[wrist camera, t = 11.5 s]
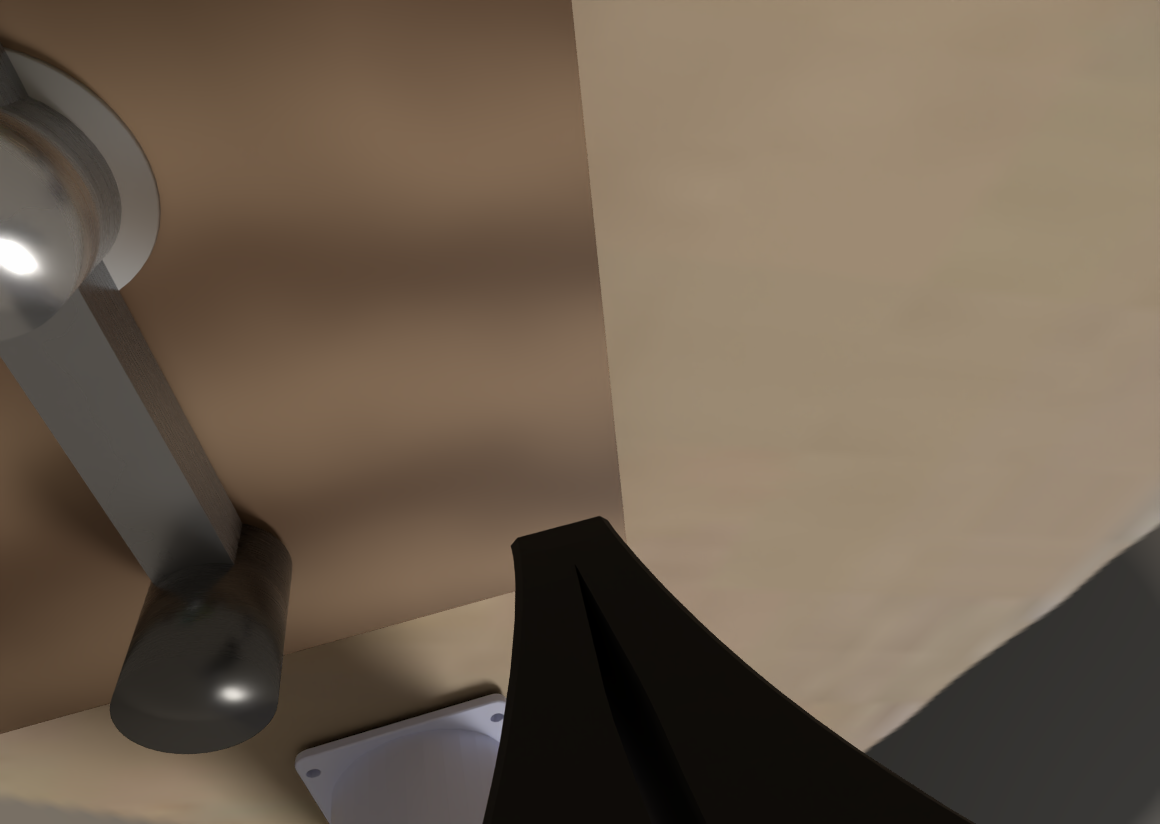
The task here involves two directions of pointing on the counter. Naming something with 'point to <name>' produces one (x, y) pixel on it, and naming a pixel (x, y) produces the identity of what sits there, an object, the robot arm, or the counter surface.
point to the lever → (133, 447)
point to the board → (323, 307)
